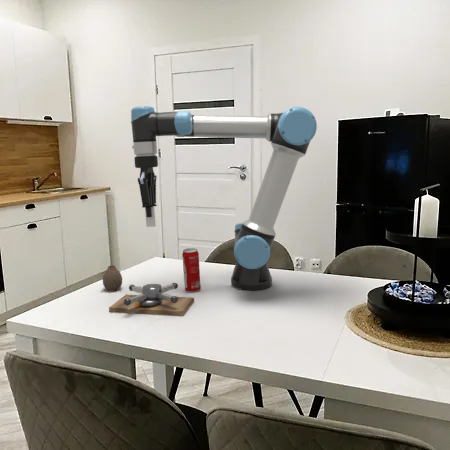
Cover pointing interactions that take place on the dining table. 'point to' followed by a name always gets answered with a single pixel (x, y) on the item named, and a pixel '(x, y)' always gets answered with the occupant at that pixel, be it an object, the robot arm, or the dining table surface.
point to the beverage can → (191, 270)
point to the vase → (112, 279)
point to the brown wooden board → (154, 307)
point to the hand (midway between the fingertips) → (151, 226)
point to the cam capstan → (151, 295)
